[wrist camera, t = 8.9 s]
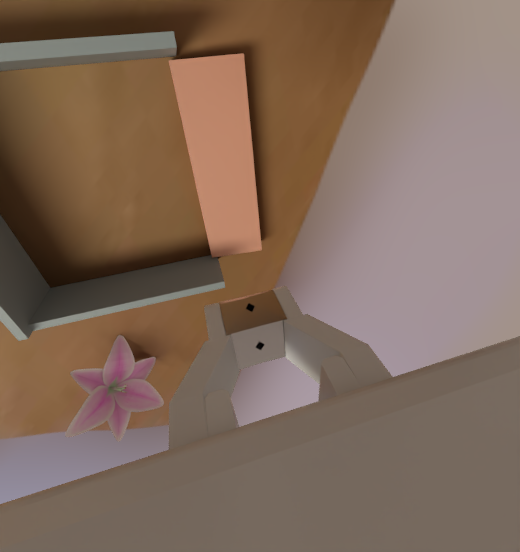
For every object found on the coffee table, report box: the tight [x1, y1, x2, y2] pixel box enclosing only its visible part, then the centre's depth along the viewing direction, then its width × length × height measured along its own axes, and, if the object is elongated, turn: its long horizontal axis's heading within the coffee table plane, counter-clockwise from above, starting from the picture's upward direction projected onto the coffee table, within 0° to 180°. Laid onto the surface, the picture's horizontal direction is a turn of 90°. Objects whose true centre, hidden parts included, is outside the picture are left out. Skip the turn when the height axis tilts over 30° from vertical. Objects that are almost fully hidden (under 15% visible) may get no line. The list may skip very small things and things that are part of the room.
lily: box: [66, 335, 164, 441], centre depth 37 cm, size 12×12×10 cm
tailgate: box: [169, 53, 262, 258], centre depth 28 cm, size 18×1×6 cm
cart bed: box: [0, 31, 225, 341], centre depth 24 cm, size 21×20×7 cm
